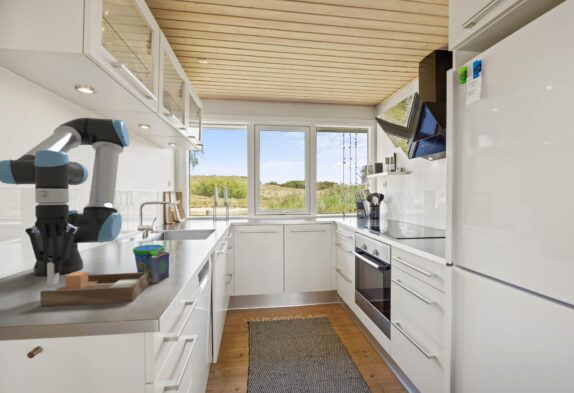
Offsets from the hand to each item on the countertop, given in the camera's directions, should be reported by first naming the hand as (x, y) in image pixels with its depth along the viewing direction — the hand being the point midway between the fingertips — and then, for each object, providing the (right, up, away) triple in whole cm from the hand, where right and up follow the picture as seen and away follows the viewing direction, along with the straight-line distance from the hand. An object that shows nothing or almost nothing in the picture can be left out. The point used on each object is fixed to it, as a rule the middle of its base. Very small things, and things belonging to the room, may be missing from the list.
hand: (53, 284), depth 82 cm
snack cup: (+17, -4, +23) cm, 29 cm away
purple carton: (+24, -4, +16) cm, 29 cm away
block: (+6, -1, +1) cm, 6 cm away
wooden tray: (+13, -4, +2) cm, 13 cm away
